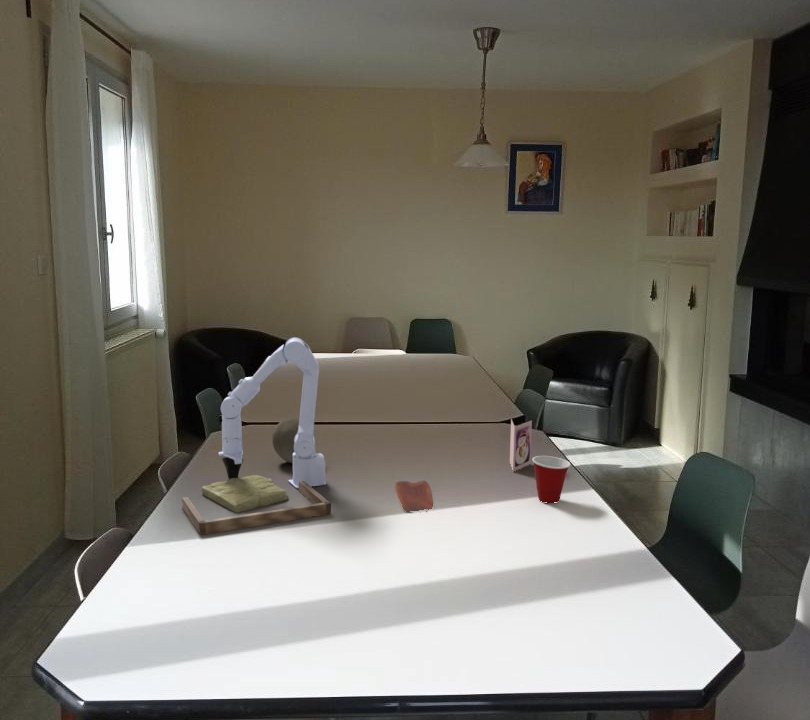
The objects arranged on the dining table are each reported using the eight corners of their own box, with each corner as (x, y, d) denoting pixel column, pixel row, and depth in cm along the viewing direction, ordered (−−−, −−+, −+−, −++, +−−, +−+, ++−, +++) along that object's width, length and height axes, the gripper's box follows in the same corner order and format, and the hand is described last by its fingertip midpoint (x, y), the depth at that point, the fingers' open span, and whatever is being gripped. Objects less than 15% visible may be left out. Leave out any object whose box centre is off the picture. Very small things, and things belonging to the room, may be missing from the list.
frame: (303, 490, 229) (303, 480, 228) (330, 513, 210) (330, 503, 210) (182, 508, 213) (182, 497, 213) (200, 535, 194) (199, 523, 194)
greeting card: (515, 472, 249) (517, 427, 246) (495, 468, 253) (496, 423, 251) (532, 464, 258) (534, 420, 255) (512, 460, 262) (514, 417, 260)
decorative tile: (234, 514, 210) (234, 501, 210) (201, 495, 225) (200, 483, 225) (293, 500, 222) (293, 488, 222) (257, 483, 237) (257, 471, 237)
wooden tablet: (394, 484, 238) (394, 479, 237) (427, 484, 238) (427, 479, 238) (399, 515, 211) (399, 509, 211) (436, 514, 212) (436, 508, 212)
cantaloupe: (319, 458, 263) (318, 414, 260) (310, 470, 249) (309, 424, 247) (278, 456, 264) (277, 413, 262) (266, 468, 250) (266, 423, 248)
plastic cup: (569, 508, 216) (571, 466, 215) (529, 505, 219) (531, 464, 217) (569, 496, 227) (570, 456, 225) (531, 493, 229) (532, 453, 227)
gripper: (212, 432, 235) (213, 476, 237) (224, 444, 222) (225, 490, 224) (235, 430, 238) (236, 473, 240) (248, 441, 225) (249, 486, 227)
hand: (233, 481), depth 232 cm, fingers closed
